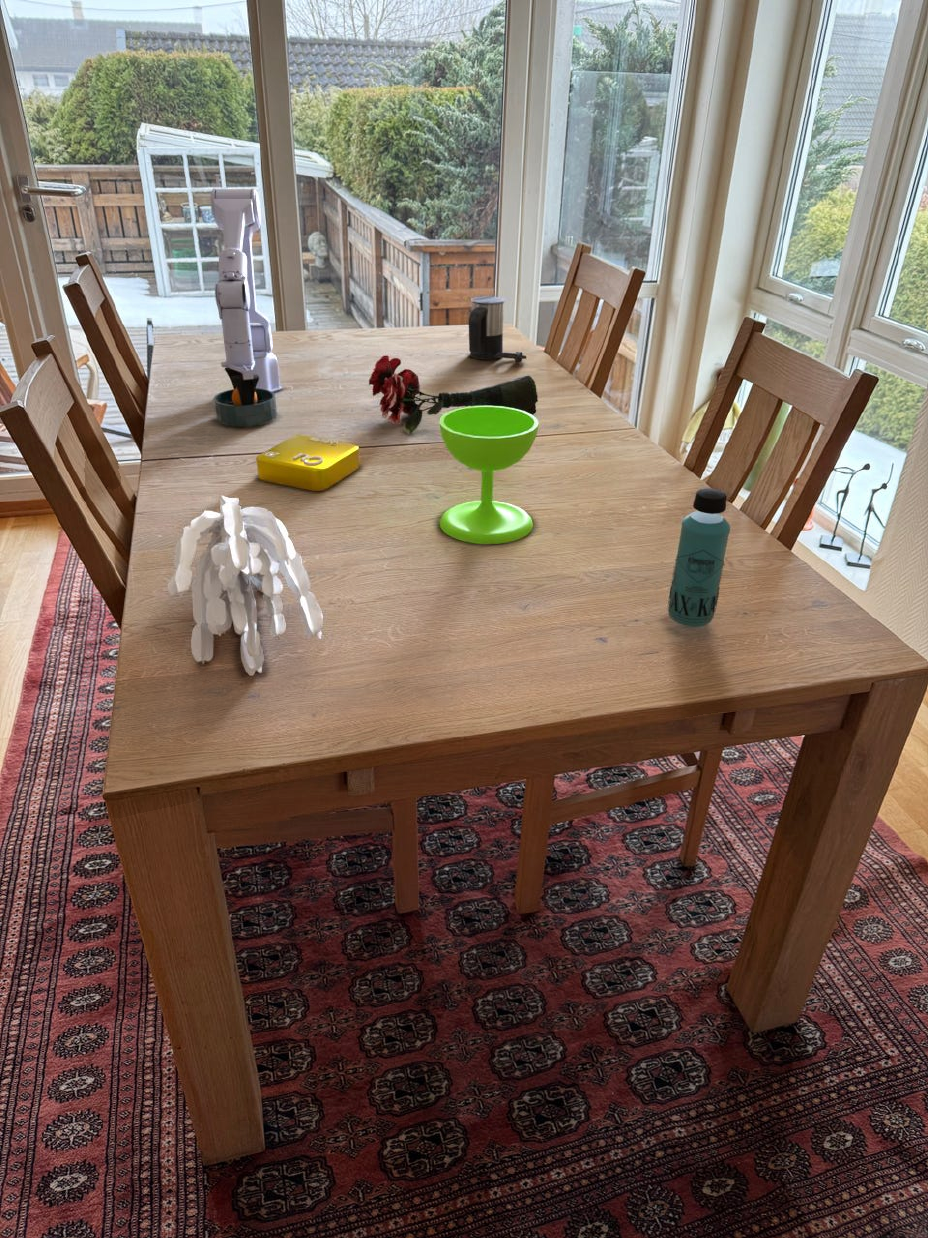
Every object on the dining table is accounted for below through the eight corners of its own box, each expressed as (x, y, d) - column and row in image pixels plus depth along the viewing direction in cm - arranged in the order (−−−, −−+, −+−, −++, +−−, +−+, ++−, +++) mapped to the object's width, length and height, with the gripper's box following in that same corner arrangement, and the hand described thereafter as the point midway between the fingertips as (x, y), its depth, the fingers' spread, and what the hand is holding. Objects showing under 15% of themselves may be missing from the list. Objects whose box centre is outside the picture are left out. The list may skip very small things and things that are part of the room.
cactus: (147, 511, 136) (132, 627, 107) (244, 440, 134) (255, 539, 105) (223, 589, 145) (228, 716, 116) (314, 523, 143) (343, 636, 114)
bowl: (246, 406, 209) (243, 384, 206) (289, 416, 203) (287, 394, 200) (204, 421, 199) (200, 399, 197) (248, 432, 194) (245, 409, 191)
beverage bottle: (659, 613, 130) (678, 482, 120) (705, 612, 131) (727, 481, 121) (672, 638, 125) (693, 502, 115) (720, 636, 125) (744, 501, 115)
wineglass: (466, 551, 147) (467, 444, 137) (423, 514, 159) (422, 413, 149) (551, 532, 153) (557, 428, 144) (503, 498, 165) (507, 400, 156)
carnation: (522, 447, 209) (373, 454, 199) (506, 377, 215) (359, 381, 204) (545, 409, 195) (386, 415, 185) (527, 336, 200) (371, 338, 190)
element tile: (363, 466, 178) (362, 442, 175) (321, 493, 166) (319, 468, 164) (298, 453, 183) (296, 430, 181) (253, 479, 172) (251, 455, 169)
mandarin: (245, 404, 203) (242, 378, 200) (263, 408, 201) (260, 382, 198) (228, 411, 199) (224, 384, 196) (246, 415, 197) (243, 388, 194)
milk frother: (472, 350, 252) (472, 294, 245) (529, 353, 250) (531, 296, 243) (465, 364, 240) (465, 306, 232) (524, 367, 238) (527, 308, 231)
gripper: (212, 334, 197) (220, 396, 204) (225, 350, 185) (233, 415, 192) (244, 331, 199) (251, 392, 206) (260, 347, 188) (266, 411, 195)
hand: (245, 403), depth 199 cm, fingers closed on mandarin, 5 cm apart
